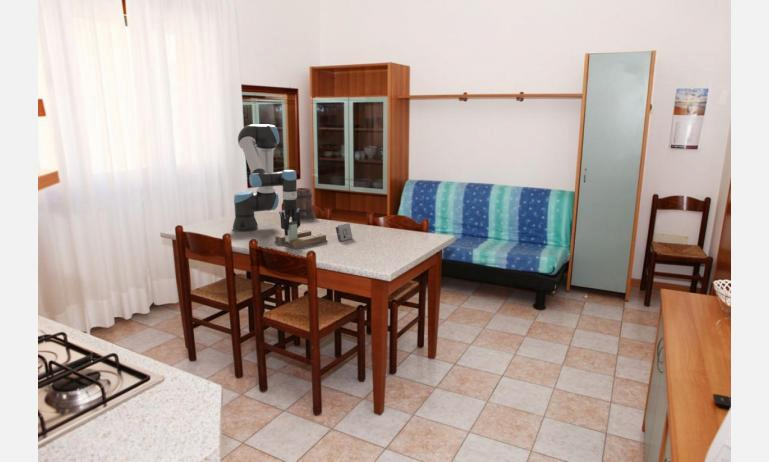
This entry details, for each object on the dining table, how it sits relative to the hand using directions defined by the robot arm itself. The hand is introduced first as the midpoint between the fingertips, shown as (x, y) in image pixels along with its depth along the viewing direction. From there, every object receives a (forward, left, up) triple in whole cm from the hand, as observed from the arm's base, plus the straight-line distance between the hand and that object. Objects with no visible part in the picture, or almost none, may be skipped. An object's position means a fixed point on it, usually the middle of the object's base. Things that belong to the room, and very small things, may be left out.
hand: (291, 240), depth 275 cm
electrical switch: (+12, +29, -3) cm, 31 cm away
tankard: (-53, +49, -3) cm, 72 cm away
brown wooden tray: (0, +7, -3) cm, 7 cm away
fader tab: (0, 0, -1) cm, 1 cm away
